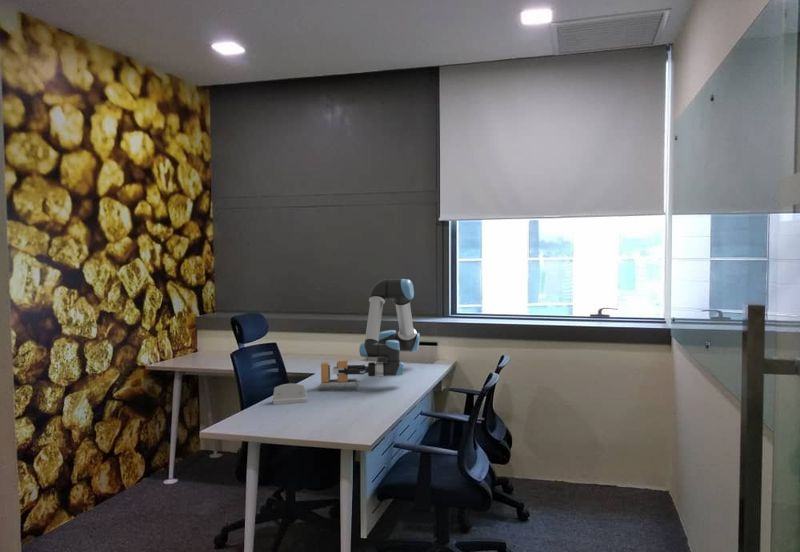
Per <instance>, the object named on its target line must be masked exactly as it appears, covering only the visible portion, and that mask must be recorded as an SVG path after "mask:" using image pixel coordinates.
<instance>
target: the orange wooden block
mask: <svg viewBox="0 0 800 552" xmlns="http://www.w3.org/2000/svg"><path fill="white" fill-rule="evenodd" d="M348 362H349V361H348V359H346V358H342V359H341V358H339V359H337V362H336V366H337V369H339V368H346V369H348V365H349V363H348ZM336 377H337V379H338V382H348V379H349V375H346V374H345V373H344V374H336Z"/></svg>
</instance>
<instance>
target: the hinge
mask: <svg viewBox="0 0 800 552" xmlns="http://www.w3.org/2000/svg"><path fill="white" fill-rule="evenodd" d="M306 393H307V392H306V387H305V386H304V385H302V384H299V383H284V384H280V385H278V386H275V387H273V396H272V404H273V405H274V406H275V405H289V404H302V403H305V404H306V403H307V401H308V400H307V399H308V398H307V394H306Z"/></svg>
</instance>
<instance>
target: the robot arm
mask: <svg viewBox="0 0 800 552" xmlns="http://www.w3.org/2000/svg"><path fill="white" fill-rule="evenodd" d="M414 296H415V290H414V284H413V282H412V281H411V280H410V279H408V278H407V279H406V278H402V279H401V278H398V279H397V278H395V279H394V278H393V279H392V278H390V279H388V278H386V279H385V278H384V279H380V280H379V281H378V282H377V283H376V284H374V286H373V287H372V289H371V291H370V292H369V296H368V302H369V308H368V309H369V310H368V314H367V315H368V316H367V324H366V329H365V330H366V331H365V337H364V338H365V339H364V342H363V343H360V345H359V355H360V357H362V358H376V361H375V362H374V361H373V362H372V361H371V362H368V364H367V365H366V364H352V365H351V364H350V365H349V364H348V369H346V368H339V369H337V365H334V366H332V367H333V368H332V369H331V370H332V372H331V373H332V374H333V375H337V374H344V373H345V374H346V375H348V376H350V375H365V374H366V373H367V375H368V377H375V376H376V377H380V378H382V377H400V376H403V375H404V373H405V372H404V370H405V369H404V367H405V366H404V362H403V361H401V359H400V358H401V357H400V355H401V352H404V353H405V352H407V353H408V352H409V353H414V352H415V353H416V352H417V351H419V345H420V335H421V334H420V332H417V330H416V329H415V328H414V324H413V317H412V315H413V314H412V309H411V302H412V300H413V299H414ZM386 300H392V303H393V304H394V305H395V309H396V310H395V311H396V317H397V321H398V328H399V330H398V332H397V331H396V330H395V329H389V330H384V331H381V325H382V315H383V307H384V304H385V303H386Z"/></svg>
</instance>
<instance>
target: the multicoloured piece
mask: <svg viewBox="0 0 800 552" xmlns="http://www.w3.org/2000/svg"><path fill="white" fill-rule="evenodd" d="M320 379H321V382H320V385H319V386H318V392H321V391H322V392H324V391H329V392H331V391H332V392H333V391H335V392H336V390H338V391H358V387H359V380H357V378H348V382H338V378H331V364H330V362H329V361H323V362H322V361H321V363H320Z"/></svg>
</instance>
